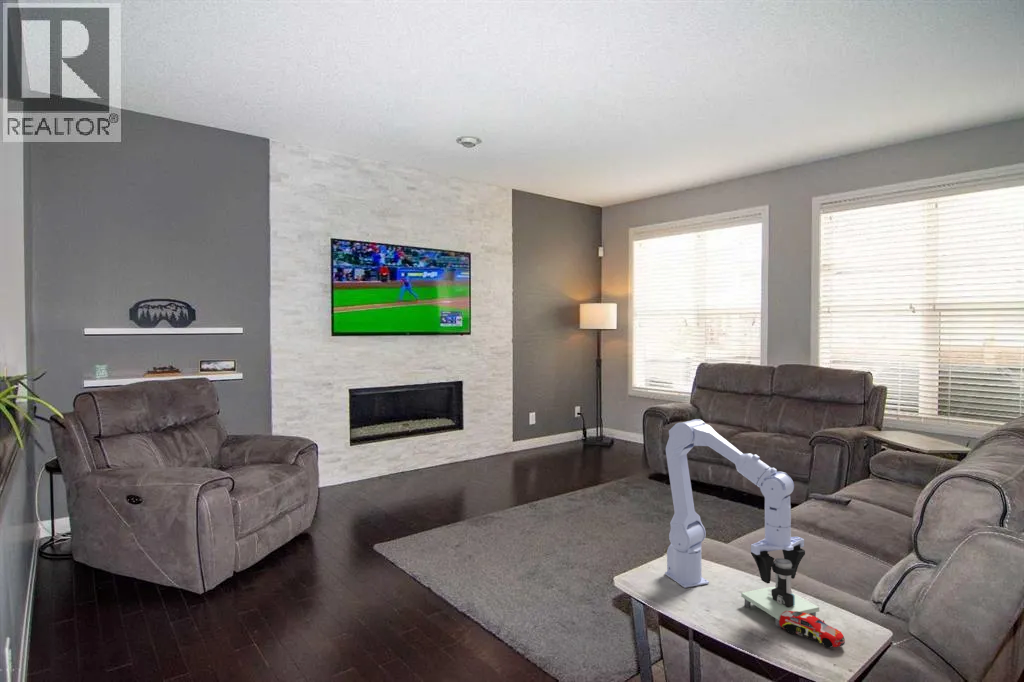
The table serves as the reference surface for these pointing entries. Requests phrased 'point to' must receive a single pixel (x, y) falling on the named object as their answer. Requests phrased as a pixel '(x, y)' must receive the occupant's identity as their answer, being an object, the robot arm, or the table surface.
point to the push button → (783, 582)
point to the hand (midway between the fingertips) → (778, 579)
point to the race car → (811, 628)
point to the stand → (773, 607)
